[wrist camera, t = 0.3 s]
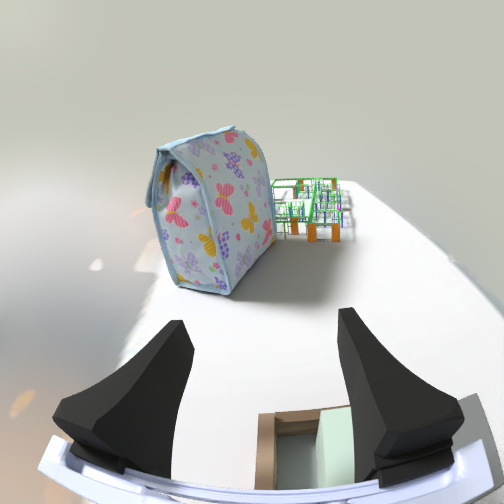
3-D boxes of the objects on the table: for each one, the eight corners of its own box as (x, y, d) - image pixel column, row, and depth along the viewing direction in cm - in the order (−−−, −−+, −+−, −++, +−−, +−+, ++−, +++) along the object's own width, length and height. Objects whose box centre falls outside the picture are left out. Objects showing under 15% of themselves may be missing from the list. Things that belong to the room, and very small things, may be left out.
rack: (434, 532, 9) (458, 528, 7) (256, 564, 11) (248, 571, 9) (409, 406, 24) (423, 384, 22) (264, 427, 26) (258, 408, 24)
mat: (502, 484, 10) (504, 482, 9) (445, 515, 10) (448, 514, 10) (474, 395, 22) (476, 392, 21) (423, 414, 22) (425, 411, 22)
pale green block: (350, 537, 13) (373, 539, 8) (318, 542, 13) (328, 548, 8) (343, 440, 23) (357, 405, 18) (315, 444, 23) (321, 410, 19)
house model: (343, 243, 58) (343, 223, 56) (217, 242, 67) (213, 224, 64) (339, 191, 87) (339, 177, 85) (253, 193, 95) (251, 180, 93)
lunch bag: (220, 233, 70) (200, 129, 57) (283, 239, 63) (269, 120, 50) (163, 284, 53) (123, 154, 40) (236, 302, 46) (202, 139, 33)
